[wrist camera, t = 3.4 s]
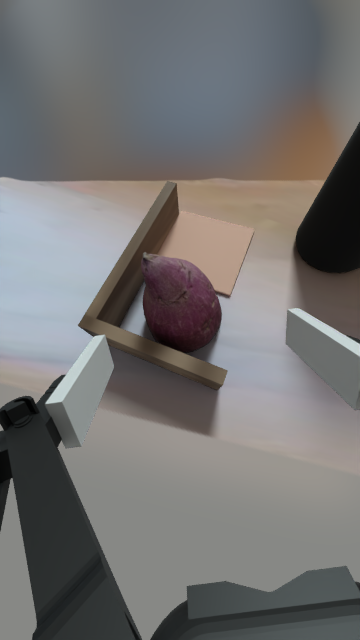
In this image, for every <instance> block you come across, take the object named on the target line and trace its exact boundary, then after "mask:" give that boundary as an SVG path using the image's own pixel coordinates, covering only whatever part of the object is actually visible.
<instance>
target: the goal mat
mask: <svg viewBox="0 0 360 640" xmlns="http://www.w3.org/2000/svg"><path fill="white" fill-rule="evenodd" d="M254 230H255V229H252V228H248V227H244V226H240V225H236V224H233V223H229V222H225V221H221V220H217V219H213V218H209V217H205V216H201V215H197V214H193V213H189V212H185V211H181V212H180V213H179V215H178V217H177V219H176V221H175V223H174V224H173V226H172V228H171V230H170V232H169V233H168V235H167V237H166V239H165V241H164V242H163V244H162V246H161V248H160V250H159V252H158V253H157V255H160V256H165V257H169V258H178V259H182V260H187V261H188V262H191V263H192V264H194V265H195V266H197V267H198V268H199V269H200V270H201V271H202V272H203V273H204V274H205V275H206V276H207V278H208V279H209V281H210V282H211V284H212V285H213V288H214V290H215V292H218V293H221V294H224V295H228V296H230V294H231V292H232V289H233V286H234V284H235V281H236V278H237V276H238V273H239V270H240V268H241V265H242V262H243V260H244V257H245V254H246V251H247V249H248V246H249V243H250V241H251V238H252V235H253V233H254Z"/></svg>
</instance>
